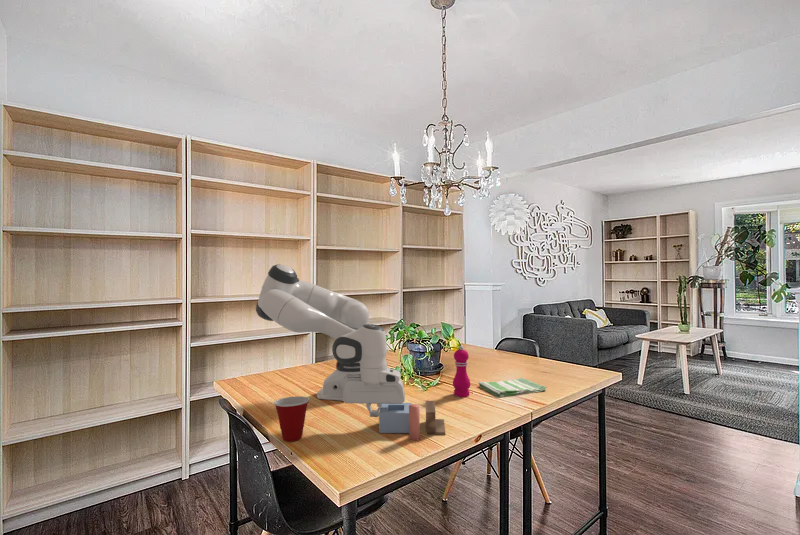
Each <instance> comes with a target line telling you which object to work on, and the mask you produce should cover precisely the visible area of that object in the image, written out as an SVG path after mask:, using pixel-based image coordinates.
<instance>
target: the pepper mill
mask: <svg viewBox="0 0 800 535" xmlns="http://www.w3.org/2000/svg"><path fill="white" fill-rule="evenodd" d="M453 358H454V360H455V361H454V363H455V364H454V365H455V367H456V370H455V371H456V373H455V375H454V377H453V380H452V386H453V388H454V390H453V395H454V396H455V397H458V398H467V397H469V396H470V390H469V389H470V388H471V386H472V384H471V380H470V377H469V375H468V372H467V366H468V359H469V358H470V357H469V353H468V351H467V350H465V349H464V346H463V345H459V346H458V349H457V350H455V351H454V353H453Z"/></svg>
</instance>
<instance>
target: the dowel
mask: <svg viewBox="0 0 800 535" xmlns="http://www.w3.org/2000/svg"><path fill="white" fill-rule="evenodd" d="M420 413H421V412H420V405H419V404H416V403H412V404H411V405H409V433H408V436H409V440H410V441H419V440H420V439H421V430H420V428H421V427H420V426H421V424H420V423H421V419H420V417H421V416H420V415H421V414H420Z"/></svg>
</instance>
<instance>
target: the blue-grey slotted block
mask: <svg viewBox="0 0 800 535" xmlns="http://www.w3.org/2000/svg"><path fill="white" fill-rule="evenodd" d="M411 404H413V403H412V402H403V403H402V404H382V407H381V409H380V410H379V417H378V430H379V431H378V432H379V434H381V433H382V434H409V405H411Z"/></svg>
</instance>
